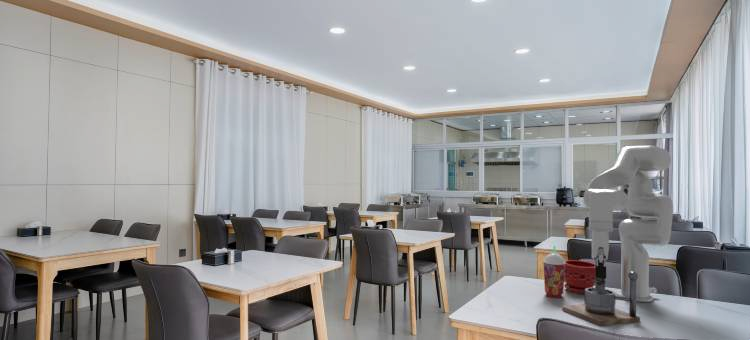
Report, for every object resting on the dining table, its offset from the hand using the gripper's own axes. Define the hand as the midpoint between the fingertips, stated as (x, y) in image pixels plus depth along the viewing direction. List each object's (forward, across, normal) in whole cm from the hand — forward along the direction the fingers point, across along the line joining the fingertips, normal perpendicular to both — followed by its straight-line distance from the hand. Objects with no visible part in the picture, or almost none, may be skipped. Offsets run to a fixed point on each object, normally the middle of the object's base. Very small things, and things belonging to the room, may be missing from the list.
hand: (600, 274), depth 151 cm
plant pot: (+15, -32, -7) cm, 36 cm away
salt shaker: (+10, 0, 0) cm, 10 cm away
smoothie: (+14, -18, -17) cm, 29 cm away
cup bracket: (+14, +1, 0) cm, 14 cm away
